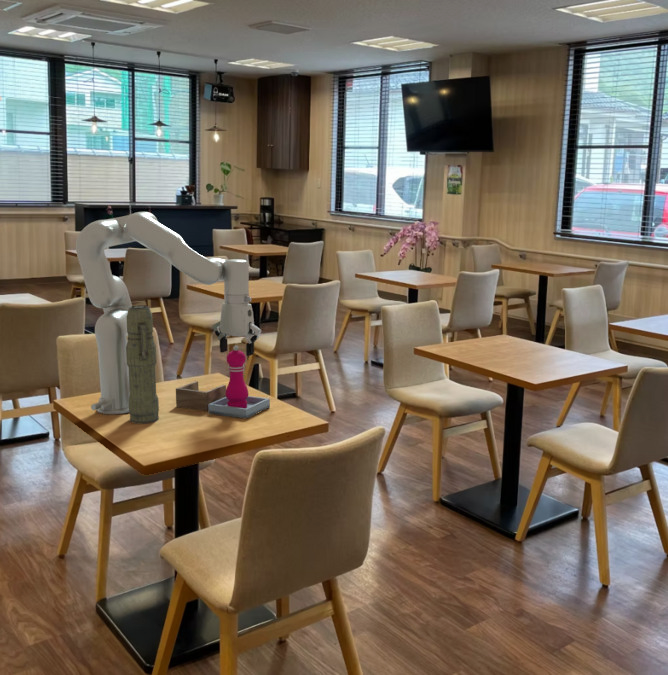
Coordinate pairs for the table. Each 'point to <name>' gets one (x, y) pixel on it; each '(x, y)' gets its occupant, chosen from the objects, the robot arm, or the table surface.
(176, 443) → the table surface
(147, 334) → the olive piece
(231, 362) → the pepper mill
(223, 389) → the walnut bay
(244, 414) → the slate tray
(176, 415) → the table surface
